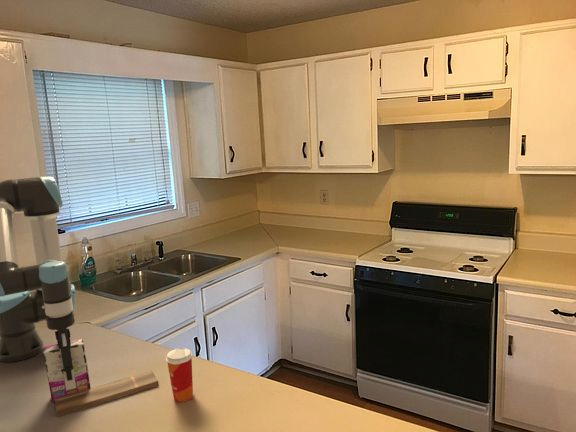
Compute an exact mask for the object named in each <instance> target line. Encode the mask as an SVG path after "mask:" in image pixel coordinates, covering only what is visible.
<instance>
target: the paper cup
mask: <svg viewBox="0 0 576 432" xmlns="http://www.w3.org/2000/svg"><path fill="white" fill-rule="evenodd" d="M192 359H193V353H192V352H191V350H190V349H189V348H186V347H185V348H175V349H173V350H170V351H168V353H167V355H166V357H165V361H166V363H167V368H168V373H169V379H170V386H171V390H172V394H173V399H174V401H175V402H176V403H177V402H178V403H183V402H185V403H186V402H187V401H189V400H191V399H192V398H193V395H194V393H193V392H194V391H193V390H194V389H193V388H194V387H193V386H194V385H193V382H194V381H193V362H192Z"/></svg>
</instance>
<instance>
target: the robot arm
mask: <svg viewBox="0 0 576 432" xmlns="http://www.w3.org/2000/svg"><path fill="white" fill-rule="evenodd" d="M63 206H64V204H63V198H62V196H61V192H60V189H59V186H58V184H57V181H56V179H55V177H53V176H35V177H27V178H26V177H25V178H24V177H23V178H17V179H16V178H15V179H5V180H1V181H0V362H3V363H15V362H20V361H23V360H28V359H29V358H32V357H35V356H36V355H39V354H40V353H41V352H42V351H44V347H45V345H44V341H43V339H42V338H41V337H42V336H40V333H39V332H38V331H37V329H36V324H37V323H41V322H46V328H47V329H48V330H50V331H51V330H52V331H54V333H55V334H54V335H55V340H56V342H57V344H58V348H59V349H61V355H62V362H63V369H61V372H64V379H65V386H66V391H67V390H70V389H74V388H76V384H75V377H74V371H73V365H72V358H71V351H70V346H71V342H70V341H71V332H70V328H69V327H72V326H73V325H75V321H76V319H75V311H76V300H77V299H76V287H75V285H74V284H73V283H71V281H70V280H69V279H70V278H69V269H68V266H67V263H66V262H65V261H63V256H62V252H61V251H62V250H61V245H60V244H61V243H60V238H59V232H58V230H59V229H58V224H57V223H58V222H57V216H58V215H59V213H60V208H63ZM21 212H23V216H24V218H26V219H28V220H29V222H30V223H29V224H30V230H31V237H32V243H33V248H34V256H35V262H36V264H33V265H29V266H21V267H19V259H18V252H17V251H18V250H17V243H16V236H15V229H14V221H13V217H14V216H15V215H16V213H21Z"/></svg>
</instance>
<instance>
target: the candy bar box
mask: <svg viewBox="0 0 576 432" xmlns="http://www.w3.org/2000/svg"><path fill="white" fill-rule="evenodd" d="M84 341H85V340H84V338H77V339H74V340H73V339H72V340H70V342H71V346H70V351H71V358H72V365H73V371H74V377H75V384H76V388H74V389H70V390H67V391H66V386H65V379H64V372H61V369H63V362H62V355H61V349H59V348H58V343H57V344H52V345H45V346H44V349H43V358H44V364H45V370H46V375H47V380H48V386H49V393H50V399H51V402H52V403H55V399H56V398H60V397H63V396H66V395H70V394H73V393H77V392H80V391H83V390H87V389H90V388H92V387H91V381H90V375H89V367H88V362H87V355H86V350H85V342H84Z"/></svg>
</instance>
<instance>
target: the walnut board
mask: <svg viewBox="0 0 576 432" xmlns="http://www.w3.org/2000/svg"><path fill="white" fill-rule="evenodd" d="M157 386H160V385H159V380H158V378H157V377H156V374H155V373H154V372H153V370H149V371H145V372H142V373H138V374H135V375H131V376H128V377H124V378H121V379H118V380H115V381H111V382H108V383H107V382H106V383H105V384H101V385H97V386H95V387H91V388H90V389H87V390H83V391H80V392H77V393H73V394H70V395H66V396H63V397H60V398H56V399H55V402H54V405H55V410H56V411H55V413H56V417H57V418H58V417H62V416H64V415H67V414H71V413H74V412H77V411H80V410H85V409H87V408H91V407H93V406H96V405H100V404H104V403H106V402H109V401H113V400H116V399H119V398H122V397H125V396H129V395H132V394H135V393H138V392H141V391H145V390H147V389H151V388H155V387H157Z"/></svg>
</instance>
